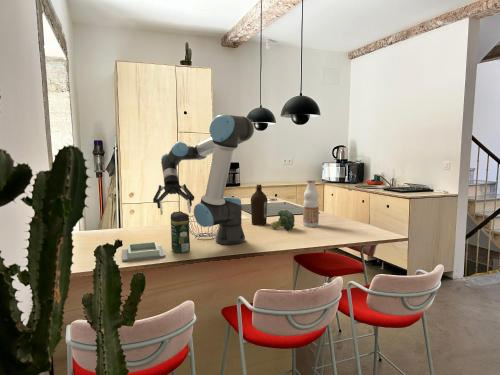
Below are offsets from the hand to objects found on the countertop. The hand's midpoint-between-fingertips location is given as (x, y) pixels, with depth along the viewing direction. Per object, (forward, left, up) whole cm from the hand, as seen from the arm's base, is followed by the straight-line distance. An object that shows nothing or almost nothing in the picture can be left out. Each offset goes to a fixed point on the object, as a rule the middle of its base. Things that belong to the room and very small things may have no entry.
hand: (175, 212), depth 173 cm
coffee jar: (-1, +8, -17) cm, 19 cm away
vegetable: (-64, -14, -17) cm, 68 cm away
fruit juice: (-85, -17, -17) cm, 88 cm away
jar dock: (+16, +8, -17) cm, 25 cm away
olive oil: (-57, -33, -17) cm, 68 cm away
